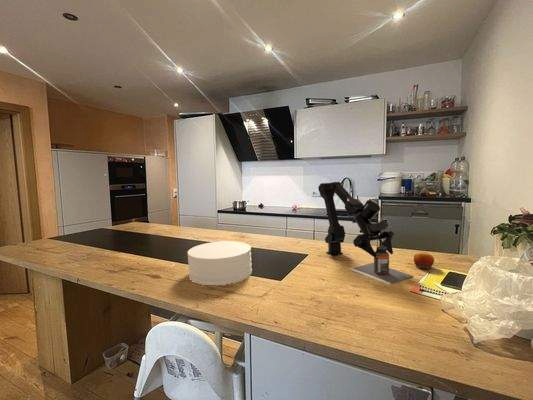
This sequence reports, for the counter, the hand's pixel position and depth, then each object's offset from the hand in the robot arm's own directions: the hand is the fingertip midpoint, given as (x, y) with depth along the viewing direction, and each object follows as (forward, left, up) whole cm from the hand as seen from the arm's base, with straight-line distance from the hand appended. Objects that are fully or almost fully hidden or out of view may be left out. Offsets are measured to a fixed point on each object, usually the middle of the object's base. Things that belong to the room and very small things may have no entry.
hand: (384, 255), depth 113 cm
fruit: (+4, +22, -9) cm, 24 cm away
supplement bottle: (-1, 0, -8) cm, 8 cm away
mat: (-2, +1, -9) cm, 9 cm away
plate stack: (-41, -58, -9) cm, 72 cm away
